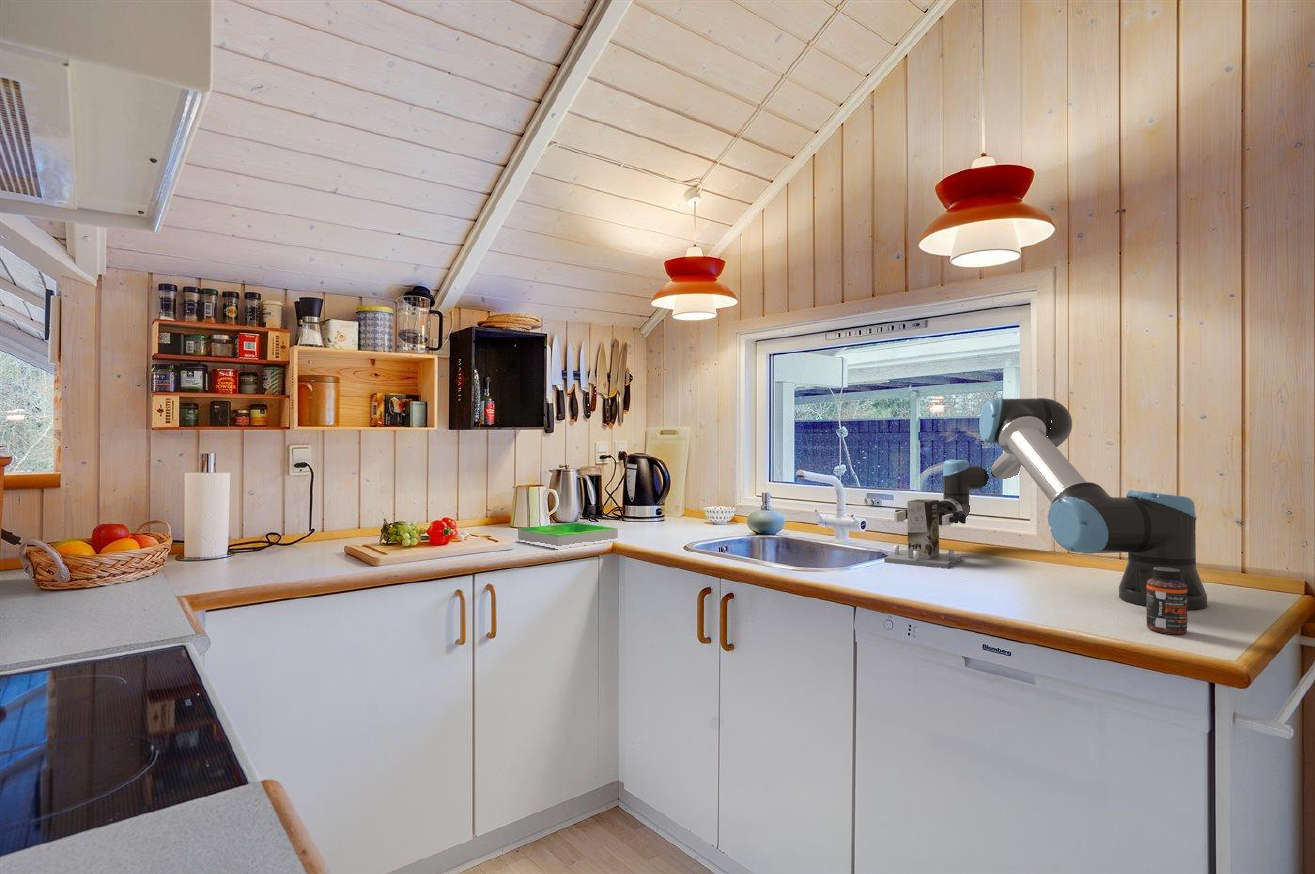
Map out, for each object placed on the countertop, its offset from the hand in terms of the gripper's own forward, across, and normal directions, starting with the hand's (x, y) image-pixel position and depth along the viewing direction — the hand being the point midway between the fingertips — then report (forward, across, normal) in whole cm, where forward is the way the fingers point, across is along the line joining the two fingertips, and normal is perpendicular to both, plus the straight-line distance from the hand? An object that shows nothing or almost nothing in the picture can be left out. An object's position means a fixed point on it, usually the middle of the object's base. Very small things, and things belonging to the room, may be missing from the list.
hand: (918, 519), depth 193 cm
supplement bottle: (+39, -60, -12) cm, 73 cm away
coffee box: (-3, 0, -11) cm, 12 cm away
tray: (+36, +110, -13) cm, 116 cm away
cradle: (-3, 0, -12) cm, 12 cm away
